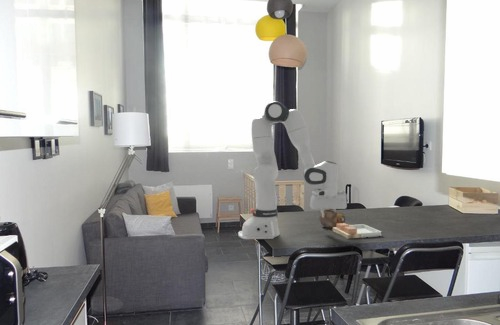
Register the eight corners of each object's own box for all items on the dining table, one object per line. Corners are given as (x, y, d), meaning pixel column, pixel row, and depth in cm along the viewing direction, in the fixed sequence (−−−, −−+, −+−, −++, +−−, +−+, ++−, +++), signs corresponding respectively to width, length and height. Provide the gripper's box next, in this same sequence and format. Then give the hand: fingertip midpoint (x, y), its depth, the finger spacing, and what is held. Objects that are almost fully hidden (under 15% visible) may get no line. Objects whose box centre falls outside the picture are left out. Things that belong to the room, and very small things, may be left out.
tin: (321, 227, 208) (321, 213, 207) (319, 226, 211) (319, 212, 210) (345, 226, 211) (345, 212, 210) (343, 225, 214) (343, 211, 213)
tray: (362, 237, 185) (362, 233, 185) (344, 229, 203) (344, 225, 203) (382, 236, 188) (382, 231, 188) (363, 228, 206) (363, 224, 206)
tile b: (348, 233, 186) (348, 229, 186) (343, 231, 191) (343, 226, 191) (356, 233, 187) (357, 228, 187) (351, 230, 192) (352, 226, 192)
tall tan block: (331, 226, 183) (331, 213, 183) (319, 220, 197) (319, 207, 196) (336, 226, 184) (337, 212, 183) (324, 219, 197) (324, 207, 197)
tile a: (340, 230, 194) (340, 225, 194) (336, 227, 199) (336, 223, 198) (349, 229, 195) (349, 225, 195) (344, 227, 200) (344, 222, 200)
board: (347, 238, 184) (347, 234, 184) (332, 231, 200) (332, 227, 200) (360, 237, 186) (361, 233, 186) (345, 230, 202) (345, 226, 202)
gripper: (343, 190, 195) (342, 215, 196) (309, 190, 190) (307, 216, 191) (349, 192, 189) (348, 218, 190) (314, 192, 184) (312, 218, 185)
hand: (327, 217), depth 190 cm, fingers closed on tall tan block, 3 cm apart
